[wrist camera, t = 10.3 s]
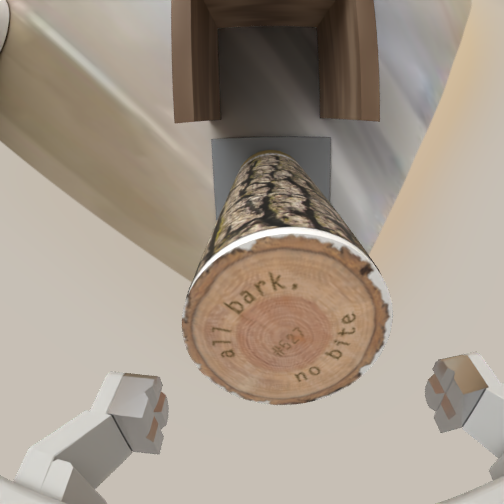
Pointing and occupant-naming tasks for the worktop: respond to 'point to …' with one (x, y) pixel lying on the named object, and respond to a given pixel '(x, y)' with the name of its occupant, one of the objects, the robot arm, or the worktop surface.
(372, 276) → the bark log cylinder
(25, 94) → the worktop surface
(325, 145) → the grey mat
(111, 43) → the worktop surface
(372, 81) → the brown wooden holder
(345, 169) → the worktop surface
